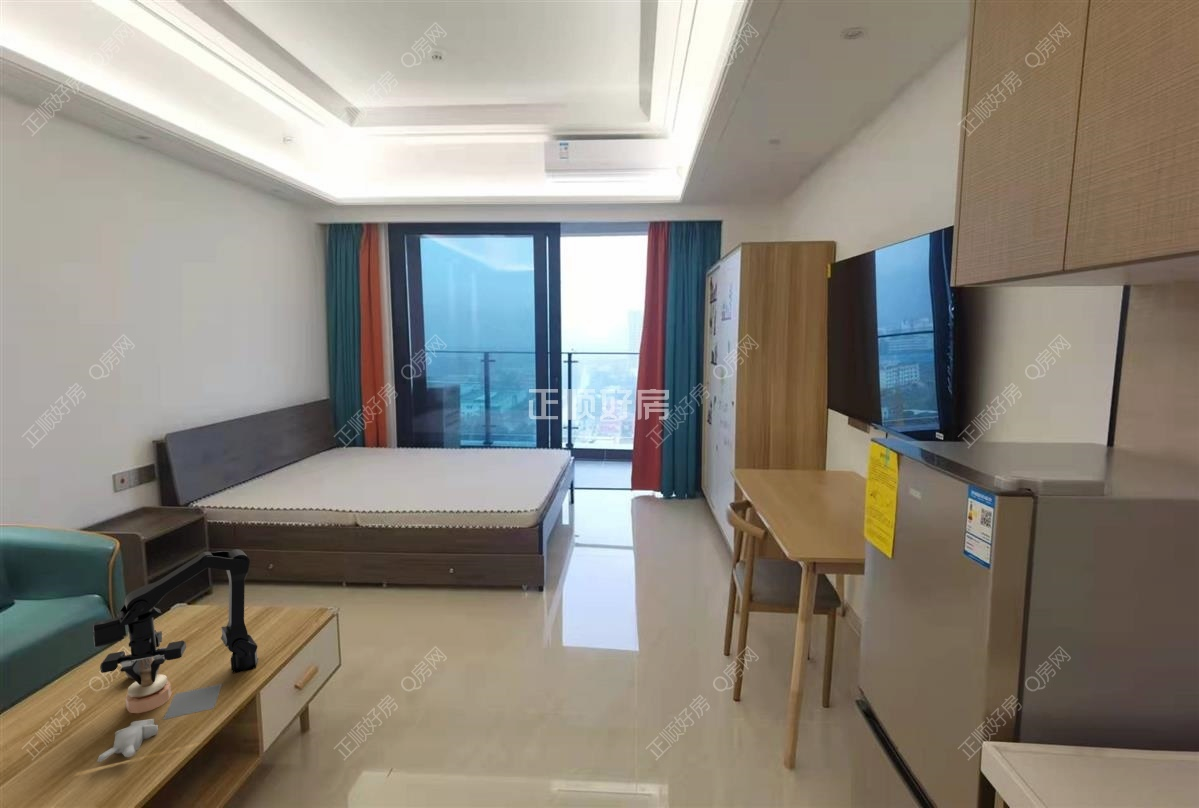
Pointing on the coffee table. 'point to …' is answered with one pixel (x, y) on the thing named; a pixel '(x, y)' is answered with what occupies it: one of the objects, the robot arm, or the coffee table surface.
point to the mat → (193, 701)
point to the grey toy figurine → (131, 738)
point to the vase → (143, 665)
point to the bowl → (148, 700)
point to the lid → (147, 684)
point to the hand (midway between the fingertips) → (147, 682)
